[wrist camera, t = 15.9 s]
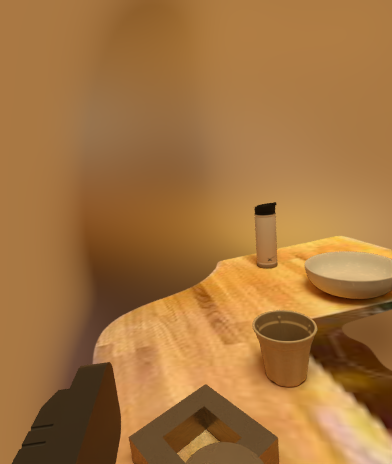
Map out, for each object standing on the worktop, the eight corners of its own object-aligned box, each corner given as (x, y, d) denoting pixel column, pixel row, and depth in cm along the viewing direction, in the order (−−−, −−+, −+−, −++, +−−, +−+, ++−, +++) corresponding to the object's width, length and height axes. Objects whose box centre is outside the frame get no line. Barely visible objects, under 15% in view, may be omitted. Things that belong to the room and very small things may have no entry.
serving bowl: (315, 271, 89) (314, 248, 88) (401, 280, 78) (402, 254, 76) (295, 300, 72) (294, 273, 71) (401, 318, 61) (403, 286, 59)
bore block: (207, 405, 43) (205, 384, 43) (279, 463, 34) (278, 437, 34) (132, 461, 36) (128, 437, 35) (198, 554, 27) (194, 524, 26)
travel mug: (275, 269, 93) (272, 204, 89) (254, 267, 96) (251, 204, 92) (280, 262, 98) (278, 201, 94) (260, 261, 102) (258, 201, 97)
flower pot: (245, 363, 52) (242, 317, 50) (294, 349, 54) (292, 305, 52) (274, 403, 43) (272, 348, 41) (331, 384, 45) (331, 332, 43)
